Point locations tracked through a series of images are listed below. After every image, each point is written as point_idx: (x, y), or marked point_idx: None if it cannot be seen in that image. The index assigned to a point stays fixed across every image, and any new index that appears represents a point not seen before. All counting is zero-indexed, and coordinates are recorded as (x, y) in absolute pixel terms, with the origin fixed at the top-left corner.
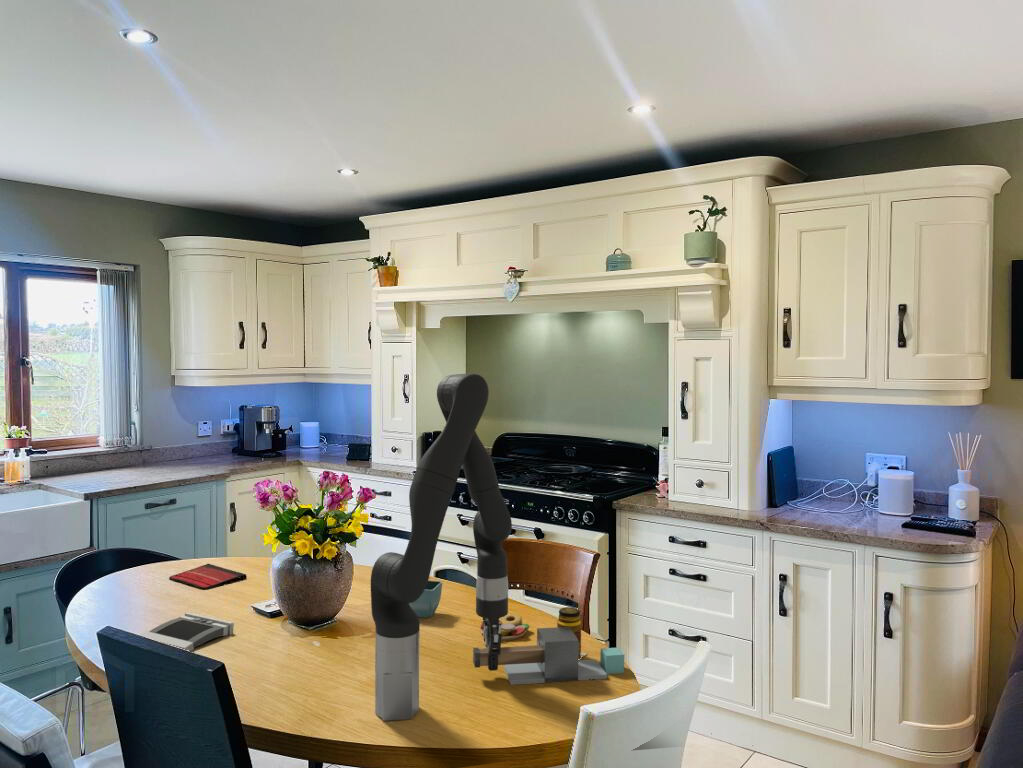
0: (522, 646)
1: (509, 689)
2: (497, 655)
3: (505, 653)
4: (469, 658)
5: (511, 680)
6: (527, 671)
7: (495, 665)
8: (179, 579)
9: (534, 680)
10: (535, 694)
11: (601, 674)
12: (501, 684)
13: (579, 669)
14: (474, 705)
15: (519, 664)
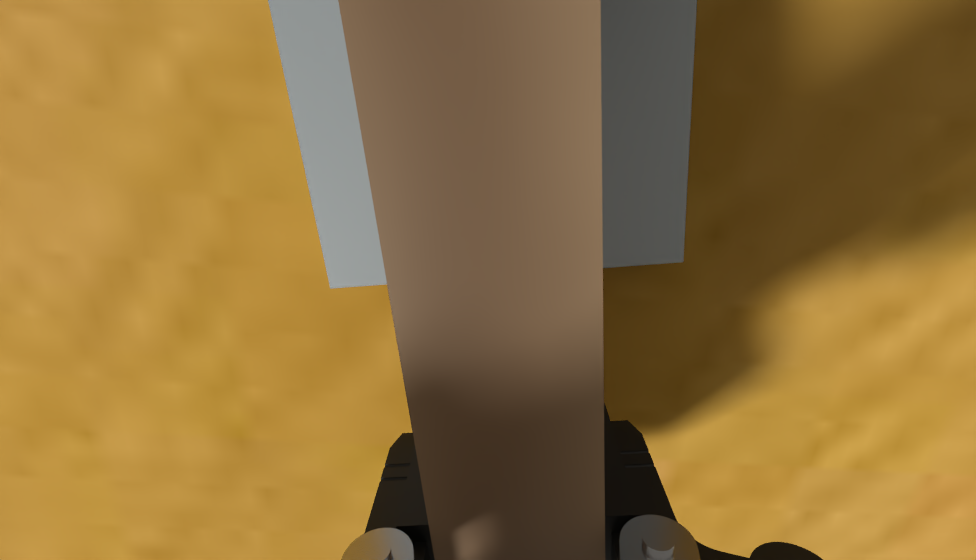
0: (379, 155)
1: (755, 264)
2: (635, 508)
3: (603, 423)
4: (166, 497)
5: (681, 253)
6: None
7: (643, 453)
8: None
9: (690, 12)
10: (927, 35)
11: None
12: (647, 318)
13: None
14: (938, 503)
15: (312, 140)
